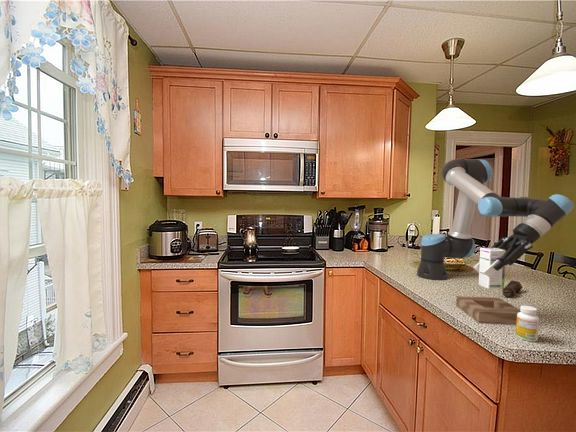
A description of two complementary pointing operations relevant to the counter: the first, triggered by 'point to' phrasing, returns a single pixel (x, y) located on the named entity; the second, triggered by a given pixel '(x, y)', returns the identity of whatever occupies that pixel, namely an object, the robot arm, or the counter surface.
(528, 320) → the supplement bottle
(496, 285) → the syrup box
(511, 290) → the bolt
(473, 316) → the socket block
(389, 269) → the counter surface
